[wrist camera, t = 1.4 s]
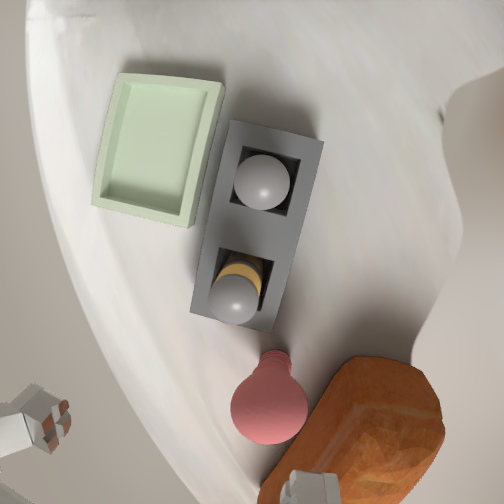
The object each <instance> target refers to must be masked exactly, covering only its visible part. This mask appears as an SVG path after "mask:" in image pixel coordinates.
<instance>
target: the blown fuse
mask: <svg viewBox="0 0 504 504" xmlns="http://www.w3.org/2000/svg"><path fill="white" fill-rule="evenodd" d="M263 272H264V264H263V260H262V258H261V257H257V256H253V255H249V254H245V253H241V252H237V251H235V252H234V253H232V254H231V256H230V257H229V258H228V260H227V262H226V264H225V265H224V267H223V268H222V270H221V272H220V273H219V275H218V277H217V279H216V281H215V282H214V284H213V286H212V287H211V289H210V291H209V294H208V306H209V309H210V311H211V312H212V314H213V315H214V316H215V317H216V318H217V319H218V320H220V321H222V322H224V323H227V324H232V325H237V324H242V323H245V322H247V321H248V320H250V319H251V318H252V317H253V316H254V314H255V313H256V310H257V307H258V301H259V295H260V290H261V285H262V278H263Z"/></svg>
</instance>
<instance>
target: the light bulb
mask: <svg viewBox="0 0 504 504" xmlns="http://www.w3.org/2000/svg"><path fill="white" fill-rule="evenodd" d="M290 375H291V361H290V358H289V356H288V355H287V354H286V353H284V352H282V351H279V350H272V351H268V352H266V353H265V354H263V355H262V357H261V358H260V361H259V364H258V367H256V368H255V370H254V371H253V373H252V375H250V376H249V377H248V378H247V379H245V380H244V381H243V382H242V383H241V384H240V385H239V386H238V387H237V389H236V390H235V392H234V394H233V397H232V400H231V417H232V420H233V423H234V424H235V426H236V428H237V429H238V431H239V432H240V433H241V434H242V435H243V436H245V437H246V438H248V439H249V440H251V441H253V442H256V443H260V444H266V445H268V444H278V443H282V442H284V441H286V440H288V439H290V438H292V437H293V436H294V435H296V434H297V433H298V432H299V430H300V429H301V428H302V426H303V425H304V423H305V421H306V418H307V414H308V401H307V397H306V394H305V392H304V390H303V389H302V387H301V386H300V385H299V383H298V382H297V381H296V380H295V379H294V378H293V377H291V376H290Z"/></svg>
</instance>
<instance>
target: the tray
mask: <svg viewBox="0 0 504 504" xmlns="http://www.w3.org/2000/svg"><path fill="white" fill-rule="evenodd" d="M225 91H226V89H225V87H224V86H223V84H222V83H220V82H214V81H207V80H199V79H191V78H183V77H173V76H163V75H150V74H134V73H118V76H117V80H116V83H115V87H114V90H113V94H112V98H111V101H110V105H109V109H108V113H107V117H106V122H105V126H104V130H103V135H102V140H101V145H100V150H99V155H98V160H97V166H96V172H95V178H94V184H93V191H92V198H91V205H93V206H97V207H101V208H105V209H109V210H113V211H117V212H121V213H125V214H129V215H133V216H138V217H142V218H146V219H150V220H154V221H158V222H162V223H166V224H170V225H174V226H178V227H182V228H186V229H188V228H190V227H191V226H193V225H194V223H195V218H196V213H197V209H198V204H199V199H200V195H201V190H202V185H203V181H204V176H205V172H206V167H207V163H208V159H209V155H210V150H211V146H212V142H213V138H214V134H215V130H216V126H217V122H218V118H219V114H220V110H221V106H222V102H223V99H224V95H225Z"/></svg>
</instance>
